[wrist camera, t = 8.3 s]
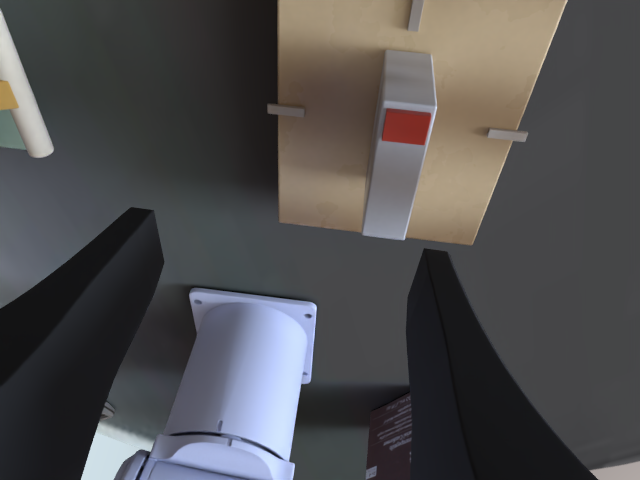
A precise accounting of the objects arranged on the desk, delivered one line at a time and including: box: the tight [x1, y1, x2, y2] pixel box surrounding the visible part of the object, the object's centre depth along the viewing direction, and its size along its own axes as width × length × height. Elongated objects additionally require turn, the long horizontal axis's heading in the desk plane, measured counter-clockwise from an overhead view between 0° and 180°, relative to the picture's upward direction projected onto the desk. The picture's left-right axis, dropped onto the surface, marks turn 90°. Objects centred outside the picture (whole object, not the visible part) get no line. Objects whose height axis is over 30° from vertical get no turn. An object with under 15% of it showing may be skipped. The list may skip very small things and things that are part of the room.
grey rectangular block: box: [361, 50, 437, 240], centre depth 17 cm, size 6×2×4 cm, turn 177°
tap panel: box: [268, 0, 567, 245], centre depth 20 cm, size 12×10×3 cm
